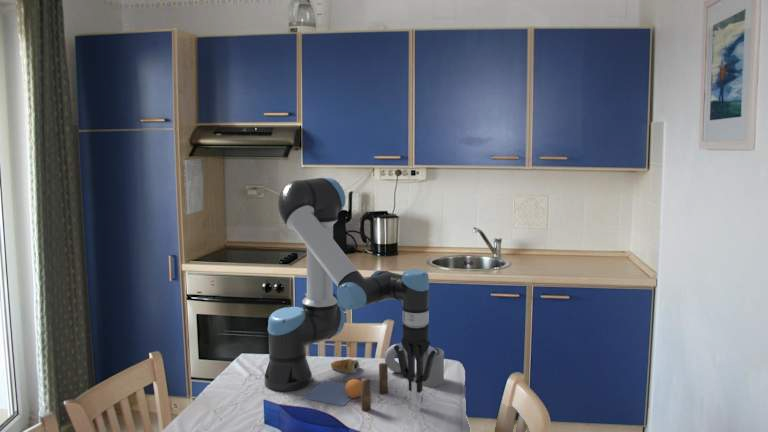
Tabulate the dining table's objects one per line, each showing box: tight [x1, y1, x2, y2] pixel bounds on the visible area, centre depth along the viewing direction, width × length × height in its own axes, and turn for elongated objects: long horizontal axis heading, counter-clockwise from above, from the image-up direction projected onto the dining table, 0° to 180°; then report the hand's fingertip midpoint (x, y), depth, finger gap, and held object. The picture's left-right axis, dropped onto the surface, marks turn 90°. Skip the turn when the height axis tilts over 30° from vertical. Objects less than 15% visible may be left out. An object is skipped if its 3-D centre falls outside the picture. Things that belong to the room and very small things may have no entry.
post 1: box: [360, 377, 372, 412], centre depth 192 cm, size 3×3×9 cm
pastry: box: [330, 358, 360, 374], centre depth 223 cm, size 9×7×4 cm
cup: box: [423, 346, 445, 388], centre depth 212 cm, size 8×8×10 cm
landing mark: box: [302, 380, 353, 407], centre depth 204 cm, size 14×14×1 cm
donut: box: [384, 343, 408, 374], centre depth 219 cm, size 10×4×10 cm, turn 86°
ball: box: [345, 378, 362, 399], centre depth 201 cm, size 6×6×6 cm
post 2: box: [378, 362, 389, 395], centre depth 204 cm, size 3×3×9 cm
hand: (415, 401), depth 193 cm, fingers closed
